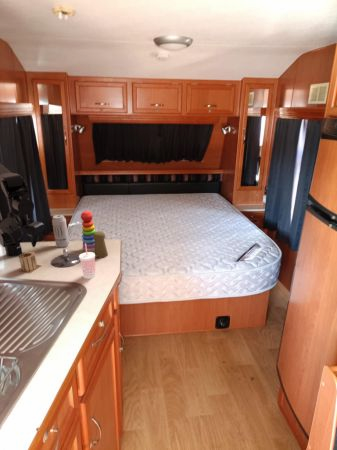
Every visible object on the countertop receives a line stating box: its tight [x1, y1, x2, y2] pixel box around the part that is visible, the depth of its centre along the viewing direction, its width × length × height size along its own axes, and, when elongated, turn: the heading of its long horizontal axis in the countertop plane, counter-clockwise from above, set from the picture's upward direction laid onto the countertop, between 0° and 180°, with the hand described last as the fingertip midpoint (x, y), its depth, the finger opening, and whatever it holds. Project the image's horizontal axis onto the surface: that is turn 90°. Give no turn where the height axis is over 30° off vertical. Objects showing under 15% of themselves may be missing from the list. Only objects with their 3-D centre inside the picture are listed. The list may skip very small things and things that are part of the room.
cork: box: [93, 231, 109, 259], centre depth 144 cm, size 6×6×11 cm
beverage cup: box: [78, 243, 96, 279], centre depth 127 cm, size 6×6×14 cm
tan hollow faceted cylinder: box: [18, 251, 38, 273], centre depth 133 cm, size 6×6×6 cm
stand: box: [16, 264, 42, 275], centre depth 134 cm, size 7×7×4 cm
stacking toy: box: [80, 210, 97, 253], centre depth 149 cm, size 8×8×19 cm
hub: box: [50, 248, 81, 269], centre depth 140 cm, size 13×13×6 cm
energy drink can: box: [51, 214, 70, 249], centre depth 154 cm, size 6×6×15 cm
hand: (25, 245), depth 131 cm, fingers open, 9 cm apart
